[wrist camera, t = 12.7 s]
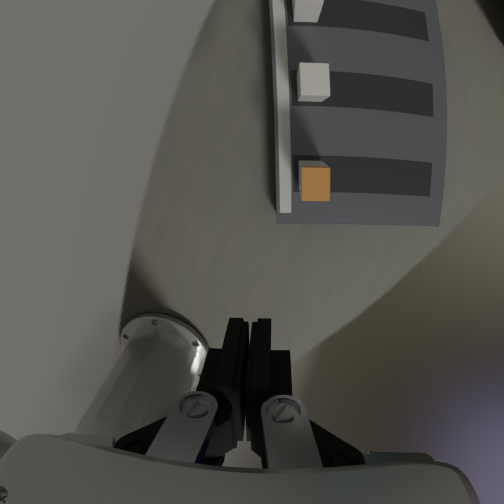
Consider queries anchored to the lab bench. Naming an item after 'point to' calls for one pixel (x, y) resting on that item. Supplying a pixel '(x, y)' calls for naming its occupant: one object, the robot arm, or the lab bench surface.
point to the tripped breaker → (314, 180)
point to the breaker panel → (360, 109)
